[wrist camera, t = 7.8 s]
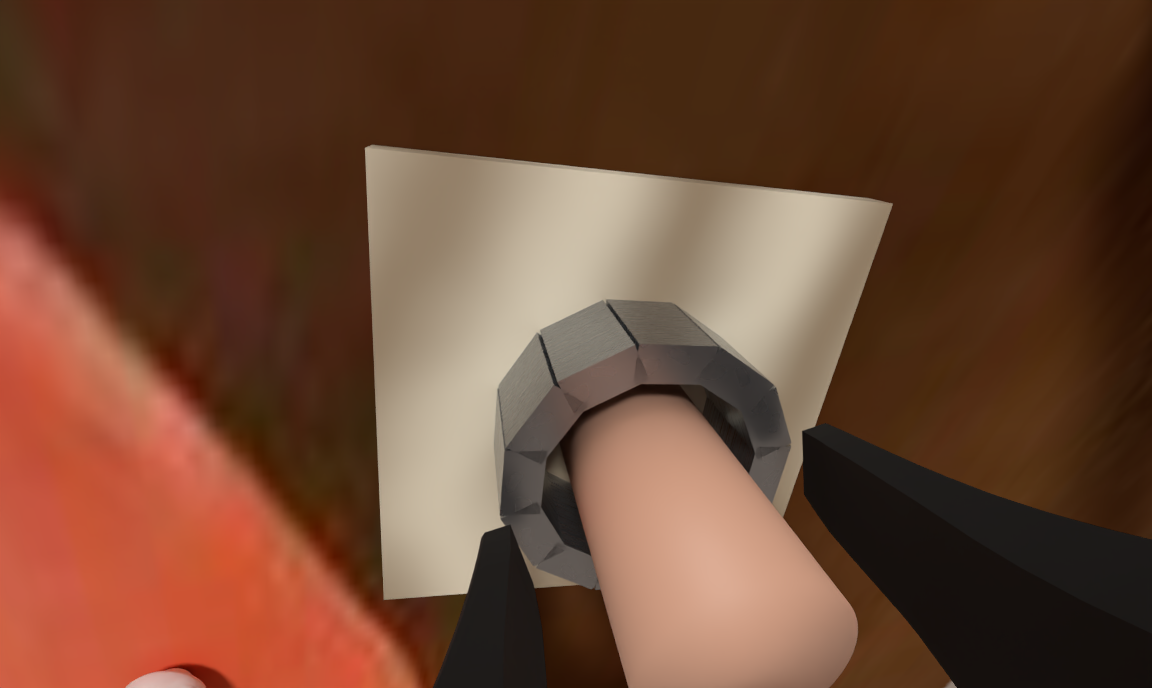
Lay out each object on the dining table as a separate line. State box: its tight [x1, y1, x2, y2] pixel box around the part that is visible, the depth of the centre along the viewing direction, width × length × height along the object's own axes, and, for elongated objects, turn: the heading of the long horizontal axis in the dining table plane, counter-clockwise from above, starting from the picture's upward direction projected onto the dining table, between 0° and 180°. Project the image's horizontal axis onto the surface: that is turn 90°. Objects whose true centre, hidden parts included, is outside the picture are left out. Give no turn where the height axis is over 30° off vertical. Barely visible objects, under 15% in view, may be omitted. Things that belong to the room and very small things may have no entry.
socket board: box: [365, 145, 893, 600], centre depth 15 cm, size 14×14×4 cm
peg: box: [559, 384, 858, 688], centre depth 12 cm, size 4×4×8 cm
